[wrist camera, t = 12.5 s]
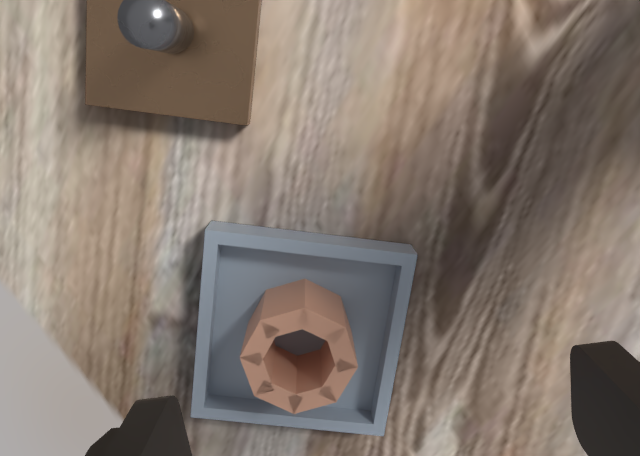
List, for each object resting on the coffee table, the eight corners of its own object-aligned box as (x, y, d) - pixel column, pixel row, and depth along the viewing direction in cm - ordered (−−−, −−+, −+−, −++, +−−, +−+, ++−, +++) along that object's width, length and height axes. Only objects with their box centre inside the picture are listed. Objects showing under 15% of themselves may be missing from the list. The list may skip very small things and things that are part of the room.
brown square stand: (265, -42, 29) (254, -76, 23) (249, 123, 32) (235, 134, 25) (98, -67, 29) (41, -108, 23) (95, 103, 31) (42, 109, 25)
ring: (332, 270, 34) (336, 298, 29) (359, 355, 35) (366, 394, 31) (238, 297, 34) (228, 329, 30) (269, 380, 36) (264, 422, 31)
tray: (411, 244, 34) (417, 254, 32) (379, 416, 37) (383, 436, 35) (211, 220, 33) (205, 229, 31) (197, 398, 37) (190, 417, 34)
